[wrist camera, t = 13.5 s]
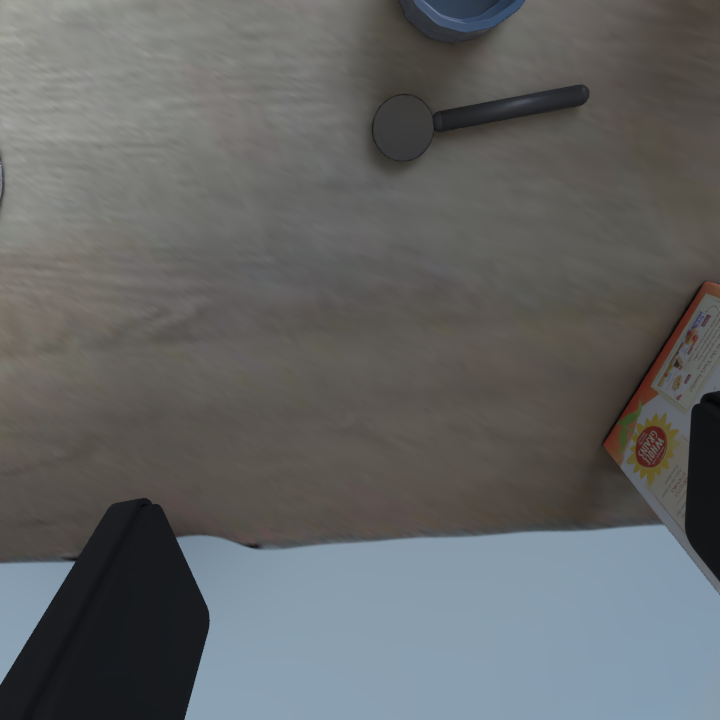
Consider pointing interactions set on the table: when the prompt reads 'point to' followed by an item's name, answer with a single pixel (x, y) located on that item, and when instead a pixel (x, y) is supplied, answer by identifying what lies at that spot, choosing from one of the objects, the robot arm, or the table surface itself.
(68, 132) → the table surface
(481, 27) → the bowl
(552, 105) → the spoon
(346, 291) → the table surface
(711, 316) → the cracker box
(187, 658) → the robot arm
